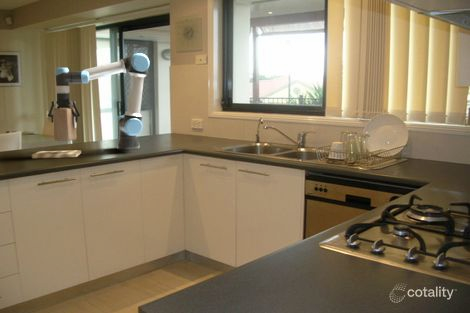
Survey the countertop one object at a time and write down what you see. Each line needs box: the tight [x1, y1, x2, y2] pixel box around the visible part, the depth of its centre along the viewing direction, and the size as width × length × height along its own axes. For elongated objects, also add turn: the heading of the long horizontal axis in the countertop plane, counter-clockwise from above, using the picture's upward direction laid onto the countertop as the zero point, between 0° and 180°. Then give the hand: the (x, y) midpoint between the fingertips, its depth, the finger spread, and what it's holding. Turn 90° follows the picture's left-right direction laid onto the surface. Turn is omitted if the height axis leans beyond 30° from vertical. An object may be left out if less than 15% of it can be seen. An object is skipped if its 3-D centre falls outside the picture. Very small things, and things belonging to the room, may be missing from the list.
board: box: [31, 149, 82, 159], centre depth 287 cm, size 26×16×2 cm, turn 99°
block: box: [52, 107, 77, 142], centre depth 285 cm, size 10×10×20 cm
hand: (65, 127), depth 285 cm, fingers closed on block, 12 cm apart
